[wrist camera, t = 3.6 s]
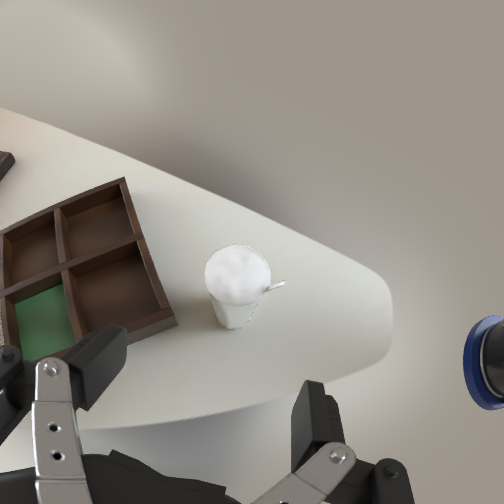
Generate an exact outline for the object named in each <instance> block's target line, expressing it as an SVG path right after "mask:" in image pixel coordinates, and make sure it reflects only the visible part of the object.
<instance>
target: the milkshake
mask: <svg viewBox="0 0 504 504" xmlns="http://www.w3.org/2000/svg"><path fill="white" fill-rule="evenodd" d="M204 277H205V283H206V286H207V289H208V291H209V294H210V297H211V300H212V304H213V308H214V312H215V315H216V317H217V319H218V321H219V324H221V325H223V326H225V327H226V328H228V329H237V328H241V327H242V326H244V325H245V324H246V323H247V322H248V321H249V320H250V318H251V316H252V315H253V313H254V311H255V309H256V307H257V306H258V304H259V302H260V301H261V299H262V297H263V296H264V294H265V293H266V292H267V291H270V290H272V289H275V288H278V287H280V286H282V285H283V283H284V282H285V280H283V281H281V282H278V283H276V284H273V285H271V286H269V285H270V281H271V270H270V267H269V265H268V263H267V261H266V259H265V258H264V257H263V255H261V254H260V253H259V252H257V251H256V250H254V249H252V248H251V247H248V246H246V245H242V244H233V245H229V246H227V247H224V248H221V249H219V250H217V251H216V252H215V253H214V254H213V255H212V256H211V257H210V259H209V260H208V262H207V264H206V267H205V273H204Z"/></svg>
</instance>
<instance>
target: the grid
mask: <svg viewBox="0 0 504 504" xmlns="http://www.w3.org/2000/svg"><path fill="white" fill-rule="evenodd" d="M0 308H1V318H2V327H3V335H4V342H5V345H13V346H15V347H17V348H18V349H20V351H21V353H22V358H23V359H25V360H28V361H32V362H35V363H38V362H39V361H41V360H42V359H44V358H49V357H54V358H60V357H61V356H62V355H63V354H64V353H66V352H67V351H68V350H69V349H70V348H71V347H73V346H74V345H75V344H77V342H78V341H80V340H81V339H82V338H83V337H84V336H85V335H87V334H88V333H89V332H92V331H95V330H98V329H99V330H103V329H104V328H106V327H107V326H108V325H109V324H110V323H113V324H115V325H118V326H121V327H123V328H126V329H127V345H129V344H131V343H134V342H137V341H139V340H142V339H144V338H147V337H149V336H152V335H154V334H157V333H159V332H162V331H164V330H167V329H169V328H172V327H174V326H177V325H178V323H177V321H176V319H175V316H174V314H173V312H172V309H171V307H170V304H169V302H168V300H167V297H166V295H165V292H164V290H163V287H162V285H161V282H160V279H159V277H158V274H157V272H156V269H155V266H154V264H153V261H152V258H151V255H150V253H149V250H148V247H147V244H146V242H145V239H144V236H143V233H142V230H141V227H140V224H139V221H138V218H137V215H136V212H135V209H134V206H133V203H132V200H131V196H130V193H129V190H128V187H127V183H126V180H125V177H122V178H119V179H116V180H113V181H111V182H108V183H105V184H103V185H100V186H98V187H95V188H93V189H90V190H88V191H85V192H83V193H80V194H78V195H75V196H73V197H71V198H68V199H66V200H64V201H61V202H59V203H57V204H55V205H52V206H50V207H48V208H46V209H44V210H41V211H39V212H37V213H35V214H33V215H31V216H29V217H27V218H25V219H23V220H21V221H19V222H17V223H15V224H13V225H11V226H9V227H7V228H5V229H3V230H1V231H0Z"/></svg>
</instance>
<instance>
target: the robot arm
mask: <svg viewBox="0 0 504 504" xmlns="http://www.w3.org/2000/svg"><path fill="white" fill-rule="evenodd" d="M126 355H127V329H126V328H123V327H121V326H118V325H115V324H113V323H110V324H109V325H108V326H107V327H106V328H104V329H103V330H99V329H98V330H95V331H92V332H89V333H88V334H87V335H85V336H84V337H83V338H82V339H81V340H80V341H78V342H77V344H75V345H74V346H73V347H71V348H70V349H69V350H68V351H67V352H66V353H64V354H63V355H62V356H61V357H60V358H54V357H49V358H44V359H42V360H41V361H39V362H38V363H35V362H32V361H28V360H25V359H23V358H22V353H21V351H20V349H18V348H17V347H15V346H13V345H2V346H0V391H1V390H2V389H3V392H2V393H1V394H0V446H1V444H2V443H3V442H4V441H5V439H6V438H7V437H8V436H9V434H10V433H11V432H12V431H13V430H14V428H15V427H16V426H17V425H18V424H19V422H20V421H21V420H22V419H23V418H24V417H25V415H26V414H27V413H28V412H29V411H30V410H32V432H33V448H34V459H35V467H30V468H26V469H21V470H15V471H10V472H4V473H0V504H241V503H240V502H238V501H237V500H235V499H234V498H232V497H230V496H228V495H225V490H226V487H224V486H220V485H216V484H212V483H208V482H204V481H200V480H194V479H183V478H174V477H167V476H164V475H162V474H160V473H158V472H157V471H155V470H153V469H152V468H150V467H148V466H147V465H145V464H144V463H142V462H140V461H139V460H137V459H134V458H131V457H129V456H127V455H124V454H122V453H120V452H118V451H115V450H112V451H111V453H110V454H109V456H108V455H102V454H83V450H82V445H81V441H80V435H79V430H78V424H77V418H76V410H77V409H78V408H79V407H80V408H82V409H84V410H86V411H89V409H90V408H91V407H92V406H93V404H94V403H95V402H96V401H97V399H98V398H99V397H100V395H101V394H102V393H103V392H104V391H105V389H106V388H107V387H108V386H109V384H110V383H111V382H112V381H113V379H114V378H115V377H116V376H117V374H118V373H119V372H120V371H121V370H122V368H123V366H124V364H125V361H126ZM478 363H479V371H480V375H481V379H482V381H483V384H484V386H485V388H486V389H487V391H488V392H489V393H490V394H491V395H492V396H494V397H496V398H500V400H501V402H502V404H504V319H503V320H502V321H500V322H498V323H496V324H494V325H492V326H490V327H489V328H487V330H486V331H485V332H484V334H483V336H482V338H481V341H480V345H479V353H478ZM340 420H341V419H340V414H339V408H338V404H337V402H336V401H335V400H334V398H333V397H332V396H331V395H325V390H324V385H323V383H321V382H316V381H310V380H305V382H304V384H303V386H302V388H301V391H300V393H299V395H298V397H297V400H296V402H295V404H294V407H293V410H292V415H291V473H289V474H288V475H287V476H285V477H284V478H283V479H282V480H281V481H279V482H278V483H277V484H276V485H274V487H272V488H271V489H269V490H268V491H267V492H266V493H264V494H263V495H262V496H260V497H259V498H258V499H256V500H255V501H254V502H252V503H251V504H321V503H322V501H325V502H328V503H331V504H415V503H414V498H413V494H412V490H411V486H410V482H409V478H408V474H407V470H406V468H405V467H404V465H403V464H402V463H400V462H399V461H397V460H394V459H390V458H385V459H382V460H380V461H379V462H378V463H377V464H376V465H375V464H371V463H367V462H365V461H361V460H359V459H357V458H356V455H355V453H354V451H353V450H352V449H351V448H350V447H349V446H347V445H346V444H345V439H344V433H343V428H342V423H341V421H340Z"/></svg>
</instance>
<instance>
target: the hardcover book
mask: <svg viewBox="0 0 504 504" xmlns="http://www.w3.org/2000/svg"><path fill="white" fill-rule="evenodd" d="M14 163H15V159H14V157H13V155H12V154H11V153H10V152H3V151H0V181H1V179H2V178H3V177H4V175H5V174H6V173H7V172H8V170H9V169H10V168H11V166H12V165H13V164H14Z"/></svg>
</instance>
